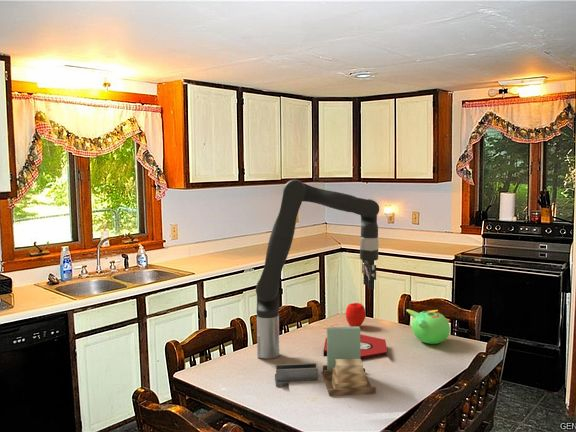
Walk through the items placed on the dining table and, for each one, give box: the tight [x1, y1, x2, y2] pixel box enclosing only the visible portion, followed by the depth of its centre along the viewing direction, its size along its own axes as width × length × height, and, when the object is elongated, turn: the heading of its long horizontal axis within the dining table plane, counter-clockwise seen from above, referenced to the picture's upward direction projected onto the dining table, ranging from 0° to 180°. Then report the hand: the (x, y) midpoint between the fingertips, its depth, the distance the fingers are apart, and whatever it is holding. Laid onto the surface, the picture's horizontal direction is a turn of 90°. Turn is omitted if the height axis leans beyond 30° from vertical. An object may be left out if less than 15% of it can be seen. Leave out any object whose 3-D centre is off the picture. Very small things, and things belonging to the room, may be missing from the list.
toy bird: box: [405, 308, 451, 345], centre depth 235 cm, size 18×17×15 cm
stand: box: [274, 362, 321, 387], centre depth 196 cm, size 16×8×6 cm, turn 94°
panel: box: [326, 326, 361, 370], centre depth 196 cm, size 12×2×18 cm, turn 94°
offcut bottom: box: [332, 375, 367, 389], centre depth 186 cm, size 11×8×3 cm
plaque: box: [323, 333, 388, 361], centre depth 226 cm, size 27×4×30 cm
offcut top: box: [335, 359, 364, 374], centre depth 186 cm, size 9×6×3 cm, turn 90°
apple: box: [345, 302, 366, 327], centre depth 259 cm, size 10×10×12 cm
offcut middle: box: [333, 368, 367, 384], centre depth 186 cm, size 10×7×3 cm
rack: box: [320, 364, 377, 397], centre depth 191 cm, size 16×21×4 cm
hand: (368, 286), depth 219 cm, fingers open, 8 cm apart
